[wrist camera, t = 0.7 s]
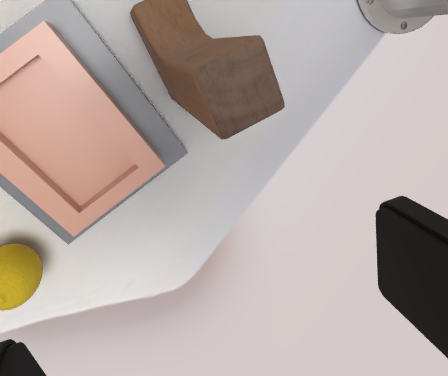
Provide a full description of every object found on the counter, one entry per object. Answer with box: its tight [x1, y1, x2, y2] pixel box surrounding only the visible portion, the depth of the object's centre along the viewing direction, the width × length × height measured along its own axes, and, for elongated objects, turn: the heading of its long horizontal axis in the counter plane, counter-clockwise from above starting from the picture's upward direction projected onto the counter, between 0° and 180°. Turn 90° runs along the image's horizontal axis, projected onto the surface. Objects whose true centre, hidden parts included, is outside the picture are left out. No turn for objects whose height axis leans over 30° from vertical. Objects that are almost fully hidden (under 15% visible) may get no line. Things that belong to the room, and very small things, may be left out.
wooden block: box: [130, 0, 284, 139], centre depth 26 cm, size 9×4×18 cm, turn 25°
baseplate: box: [0, 0, 188, 244], centre depth 32 cm, size 16×18×5 cm
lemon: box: [0, 244, 43, 310], centre depth 33 cm, size 6×6×8 cm
